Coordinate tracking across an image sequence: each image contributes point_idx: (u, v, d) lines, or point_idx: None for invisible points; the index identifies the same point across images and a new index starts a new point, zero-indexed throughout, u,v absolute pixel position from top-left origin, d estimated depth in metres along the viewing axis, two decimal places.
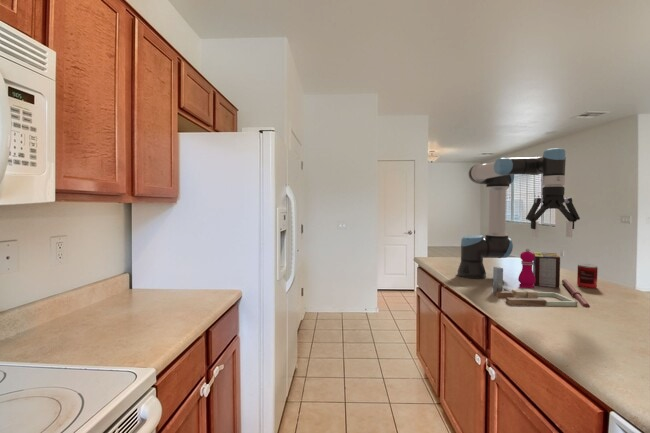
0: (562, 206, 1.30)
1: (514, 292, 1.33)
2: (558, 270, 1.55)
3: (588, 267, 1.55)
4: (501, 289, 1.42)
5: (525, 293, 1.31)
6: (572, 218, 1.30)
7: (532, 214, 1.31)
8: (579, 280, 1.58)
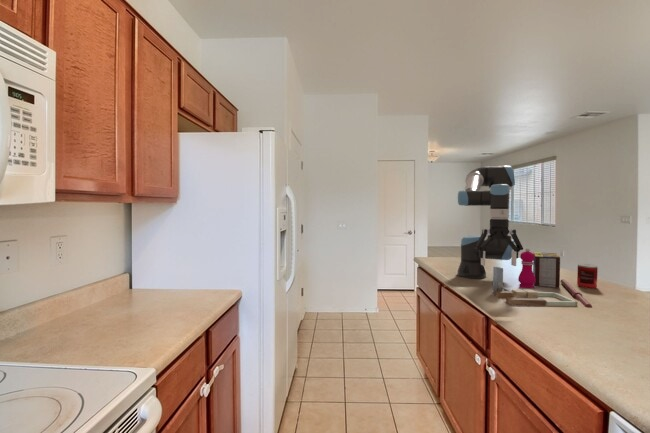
0: (507, 237, 1.41)
1: (514, 292, 1.33)
2: (558, 270, 1.56)
3: (588, 267, 1.55)
4: (501, 289, 1.42)
5: (525, 293, 1.31)
6: (516, 248, 1.41)
7: (479, 244, 1.42)
8: (579, 280, 1.58)
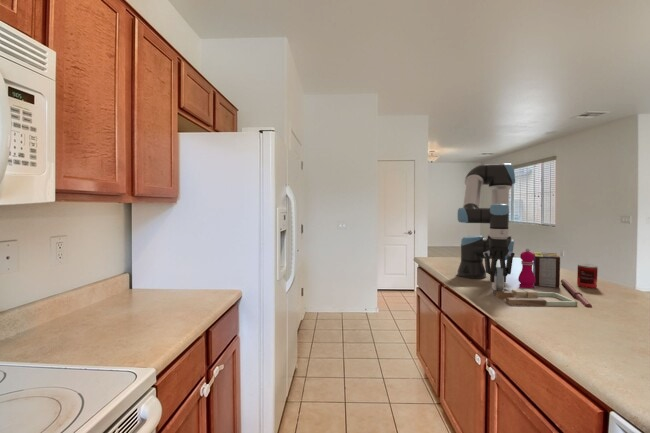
0: (503, 258, 1.41)
1: (514, 292, 1.33)
2: (558, 270, 1.56)
3: (588, 267, 1.55)
4: (501, 289, 1.42)
5: (525, 293, 1.31)
6: (505, 272, 1.42)
7: (488, 268, 1.42)
8: (579, 280, 1.58)
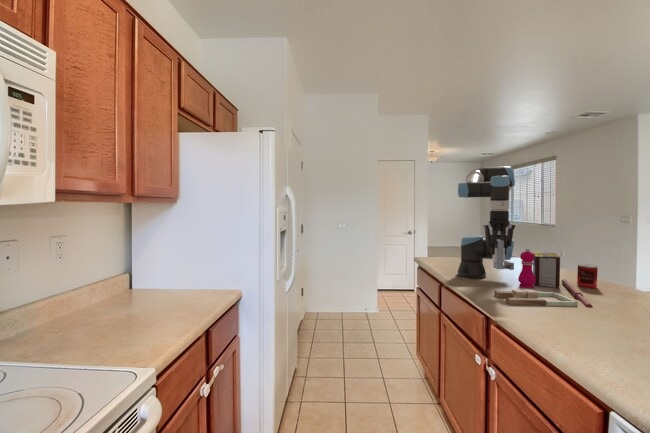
0: (504, 230, 1.41)
1: (514, 292, 1.33)
2: (558, 270, 1.55)
3: (588, 267, 1.55)
4: (502, 261, 1.42)
5: (525, 293, 1.31)
6: (505, 244, 1.42)
7: (489, 241, 1.42)
8: (579, 280, 1.58)
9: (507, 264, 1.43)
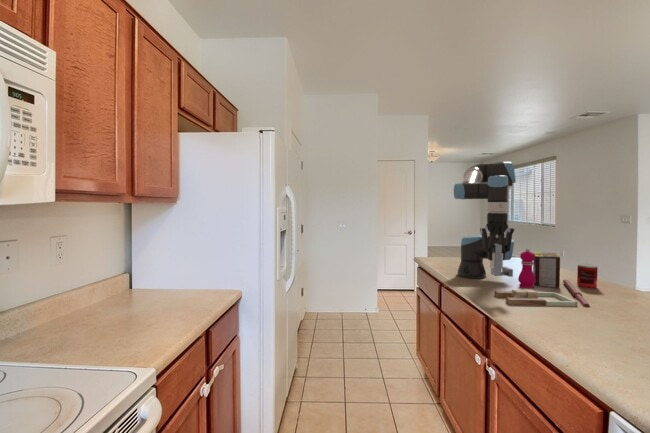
0: (502, 234, 1.31)
1: (514, 292, 1.33)
2: (558, 270, 1.56)
3: (588, 267, 1.55)
4: (500, 267, 1.32)
5: (525, 293, 1.31)
6: (504, 249, 1.32)
7: (486, 245, 1.32)
8: (579, 280, 1.58)
9: (505, 270, 1.33)
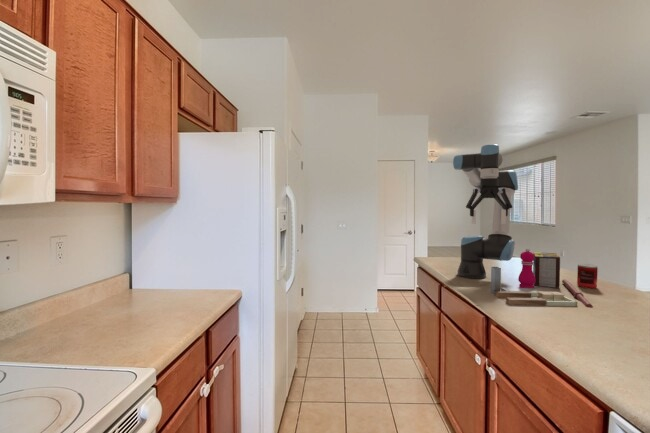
0: (496, 196, 1.46)
1: (540, 294, 1.33)
2: (558, 270, 1.55)
3: (588, 267, 1.55)
4: (499, 289, 1.42)
5: (552, 295, 1.31)
6: (505, 206, 1.47)
7: (470, 203, 1.48)
8: (579, 280, 1.58)
9: None
